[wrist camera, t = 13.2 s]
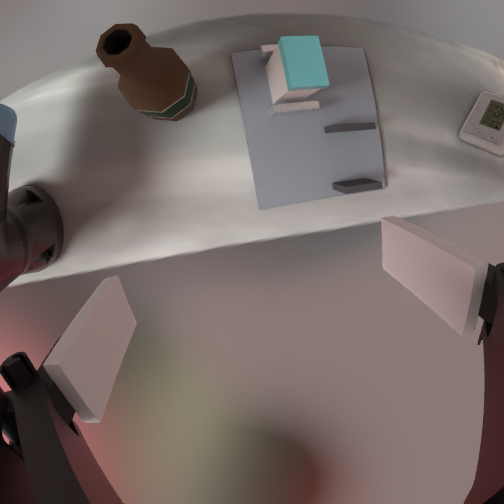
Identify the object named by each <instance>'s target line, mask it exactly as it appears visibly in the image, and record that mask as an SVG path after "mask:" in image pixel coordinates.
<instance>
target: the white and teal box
mask: <svg viewBox="0 0 504 504" xmlns="http://www.w3.org/2000/svg"><path fill="white" fill-rule="evenodd" d="M266 72H267V77H268V82H269V87H270V92H271V97H272V102H273V104H279V103H289V102H299V101H301V100H303V99H305V98H306V97H308V96H310V95H311V94H313V93H315V92H317V91H318V90H320V89H324V88H326V87H328V86H329V80H328V75H327V71H326V66H325V62H324V57H323V53H322V49H321V45H320V41H319V37H318V36H283V37H280V39H279V41H278V45H277V47H276V49H275V50H274V52H273V54H272V56H271V58H270V59H269V61H268V63H267V65H266Z"/></svg>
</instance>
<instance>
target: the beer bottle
mask: <svg viewBox="0 0 504 504" xmlns="http://www.w3.org/2000/svg"><path fill="white" fill-rule="evenodd" d="M145 39H146V36H145V35H144V34H143V32H142V31H141V30H140V29H139V27H138V26H137V25H135V24H115V25H114V26H112V27H111V28H110V29H108V30H107V31H106V32H105V33H103V34H102V35H101V36H100V39H99V42H98V46H97V49H96V53H97V56H98V57H99V58H100V60H101V61H102V62H103V64H104V65H105V67H113V68H114V69H115V70H116V71H117V72H118V73H119V74H120V79H119V83H118V88H119V90H120V91H121V92H122V94H123V95H124V97H125V98H126V99H127V101H128V102H129V103H130V105H131V106H132V107H133V108H134V109H135V110H137V111H139V112H141V113H143V114H145V115H147V116H150V117H152V118H154V119H160V120H170V121H177V120H178V119H180V118H181V117H183V116H184V115H185V114H187V113H188V112H190V111H191V110H193V106H194V101H195V97H196V92H197V88H196V85H195V83H194V80H193V77H192V75H191V72H190V70H189V69H188V68H187V66H186V65H185V64H184V63H183V61H182V60H181V59H180V58H179V56H178V55H177V54H176V53H175V51H174V50H173V49H172V48H159V47H151V46H150V45H149V44H148V43H147V42H146V41H145Z"/></svg>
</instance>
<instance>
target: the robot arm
mask: <svg viewBox="0 0 504 504" xmlns="http://www.w3.org/2000/svg"><path fill="white" fill-rule="evenodd" d="M16 124H17V116H16V113H15V111H14V110H13V109H11V108H10V107H8V106H6V105H3V104H0V292H1V291H2V290H3V289H4V288H5V287H7V286H8V285H9V284H10V283H11V282H12V281H14V280H15V279H16V278H17V277H18V276H20V275H23V274H29V273H35V272H39V271H42V270H44V269H45V268H47V267H48V266H49V265H50V264H52V263H53V262H54V261H55V260H56V258H57V257H58V255H59V253H60V251H61V247H62V243H63V224H62V219H61V216H60V213H59V210H58V208H57V206H56V204H55V202H54V201H53V199H52V198H51V197H50V196H49V195H48V194H47V193H46V192H45V191H44V190H42V189H41V188H39V187H36V186H31V185H28V186H23V187H19V188H16V189H14V190H12V191H11V192H9V193H8V188H9V177H10V168H11V160H12V153H13V147H15V141H14V138H15V131H16ZM381 226H382V259H383V261H382V262H383V269H384V270H385V271H387V272H388V273H389V274H390V275H391V276H393V277H394V278H395V279H396V280H398V281H399V282H400V283H401V284H403V285H404V286H405V287H406V288H407V289H408V290H410V291H411V292H412V293H413V294H414V295H416V296H417V297H418V298H419V299H420V300H422V301H423V302H424V303H425V304H426V305H427V306H429V307H430V308H431V309H432V310H433V311H434V312H435V313H436V314H438V315H439V316H440V317H441V318H442V319H443V320H444V321H446V322H447V323H448V324H449V325H450V326H451V327H452V328H453V329H454V330H455V331H457V332H458V333H459V334H460V335H461V336H463V335H466V334H467V333H469V332H471V331H473V330H475V327H476V324H477V319H478V316H480V317H481V318H482V319H484V322H483V326H482V329H481V333H480V336H479V340H478V345H480V342H481V340H483V346H484V366H485V367H484V370H485V392H484V393H485V395H484V417H483V428H482V437H481V445H480V453H479V459H478V465H477V471H476V476H475V480H474V484H473V486H472V489H471V491H470V492H469V494H468V496H467V497H466V499H465V501H464V504H504V263H500V264H497V265H496V266H493V265H491V264H489V263H488V262H486V261H484V260H482V259H480V258H478V257H477V256H475V255H473V254H471V253H469V252H468V251H465V250H464V249H462V248H460V247H458V246H456V245H454V244H452V243H450V242H448V241H446V240H444V239H442V238H440V237H438V236H436V235H434V234H432V233H430V232H428V231H426V230H423V229H422V228H419V227H417V226H415V225H413V224H411V223H409V222H406V221H404V220H402V219H400V218H398V217H395V216H389V217H384V218H381ZM136 324H137V322H136V320H135V318H134V315H133V313H132V311H131V308H130V306H129V303H128V301H127V298H126V296H125V294H124V291H123V288H122V286H121V283H120V280H119V278H118V276H113V277H109V278H105V279H104V280H103V281H102V282H101V284H100V285H99V286H98V288H97V289H96V290H95V291H94V293H93V294H92V295H91V297H90V298H89V299H88V301H87V302H86V303H85V305H84V306H83V307H82V309H81V310H80V311H79V313H78V314H77V315H76V317H75V318H74V320H73V321H72V323H71V324H70V325H69V327H68V328H67V330H66V331H65V332H64V334H63V335H62V336H61V337H60V338H59V339H58V340H57V342H56V343H55V344H54V346H53V348H52V349H51V350H50V352H49V354H48V355H47V356H46V358H45V360H44V361H43V363H42V364H41V366H40V367H39V369H38V370H37V371H36V369H35V368H34V366H33V364H32V363H31V361H30V359H29V358H28V356H27V355H26V353H24V352H18V353H15V354H13V355H11V356H10V357H8V358H7V359H6V360H5V361H4V362H3V363H2V365H1V366H0V374H1V375H2V376H3V378H4V379H5V381H6V382H7V384H8V385H9V387H10V388H11V389H12V390H11V391H7V392H4V391H3V390H2V388H1V387H0V504H124V503H123V502H122V501H121V499H120V498H119V497H118V495H117V493H116V492H115V491H114V489H113V487H112V486H111V484H110V483H109V481H108V480H107V478H106V476H105V475H104V473H103V471H102V470H101V468H100V466H99V465H98V463H97V461H96V460H95V458H94V456H93V454H92V452H91V451H90V449H89V447H88V445H87V443H86V441H85V439H84V437H83V435H82V433H81V431H80V429H79V427H78V425H77V424H76V423H75V422H74V421H73V416H74V413H75V412H76V413H77V414H78V415H79V417H80V418H81V419H82V420H83V422H92V423H101V420H102V417H103V414H104V411H105V407H106V405H107V401H108V398H109V396H110V393H111V390H112V387H113V384H114V381H115V379H116V376H117V373H118V370H119V368H120V364H121V362H122V360H123V357H124V354H125V352H126V349H127V346H128V344H129V341H130V339H131V336H132V334H133V331H134V329H135V326H136ZM2 432H3V433H4V434H5V435H6V437H7V438H8V439H9V440H10V442H9V445H8V444H7V443H6V442H5V441H4V439H3V436H2Z"/></svg>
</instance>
